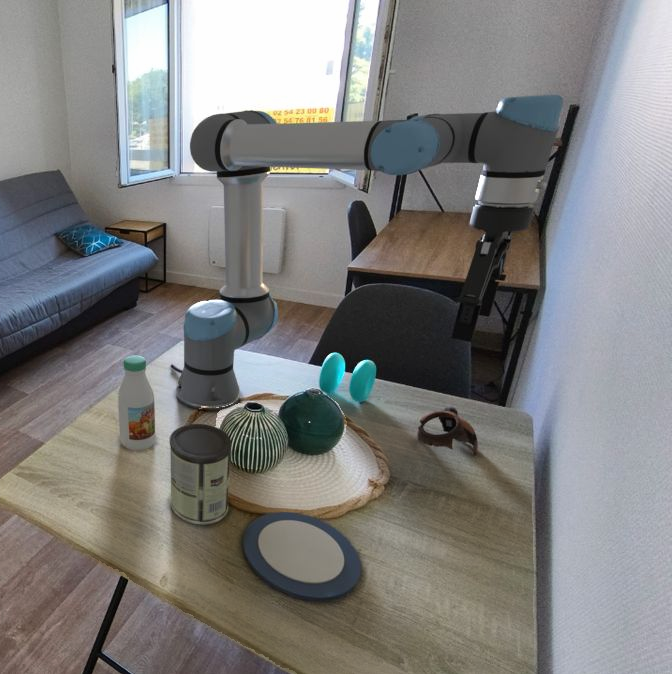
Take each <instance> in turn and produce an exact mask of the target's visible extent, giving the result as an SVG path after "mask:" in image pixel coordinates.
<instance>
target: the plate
mask: <svg viewBox="0 0 672 674" xmlns="http://www.w3.org/2000/svg"><path fill="white" fill-rule="evenodd" d="M242 540H243V541H242V549H243V553H244V557H245V559H246V561H247V563H248V565H249V566H250V568H251V569H252V570H253V571H254V573H255V574H256V575H257V576H258V577H259V578H260V579H261V580H262V581H264V582H265V583H266V584H267V585H269V586H271V587H272V588H273V589H275V590H277V591H279V592H281V593H283V594H285V595H288V596H291V597H294V598H297V599H300V600H305V601H312V602H328V601H329V602H330V601H333V600H337V599H338V600H339V599H340V598H343V597H345V596H346V595H348V594H350V593H351V592H352V591H353V590H354V589H355V588H356V587H357V585H358V583H359V581H360V578H361V573H362V562H361V558H360V556H359V554H358V552H357V550H356V548H355V546H354V545H353V544H352V542H351V541H350V540H349V539H348V538H347V537H346V536H345V535H344V533H342V532H341V531H339V530H338V529H337V528H335V527H334V526H332V525H330V524H329V523H327V522H326V521H324V520H321V519H319V518H316V517H313V516H310V515H307V514H304V513H299V512H294V511H293V512H291V511H278V512H277V511H275V512H270V513H266V514H264V515H261V516H259V517H257V518H256V519H253V521H251V523H249V525H248V526H247V527H246V528H245V531H244V534H243V538H242Z"/></svg>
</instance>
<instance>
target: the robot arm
mask: <svg viewBox="0 0 672 674" xmlns="http://www.w3.org/2000/svg"><path fill="white" fill-rule="evenodd" d="M564 104H565V100H564V98H563V97H562V96H561V95H559V94H535V95H522V96H520V95H519V96H508V97H504V98H502V99H500V101H499V103H498V105H497V107H496V108H495V111H486V112H473V113H472V112H469V113H468V112H467V113H466V112H465V113H429V114H424V115H416V116H413V117H411V118H410V119H389V120H357V121H355V120H353V121H325V122H323V121H322V122H290V123H288V122H287V123H285V122H284V123H277V120H276V119H275V118H274V117H272V116H271V115H270V114H269V113H267V112H265V111H261V110H253V109H251V110H247V109H246V110H242V111H234V112H225V113H216V114H212V115H209V116H207V117H205V118H204V119H202V120H201V121H200V122H198V124H197V125H196V127H195V128H194V129H193V131H192V133H191V136H190V139H189V152H190V156H191V158H192V160H193V162H194V163H195V164H196V165H197V166H198V167H199V168H201V169H202V170H204V171H207V172H213V173H215V172H216V179H217V180H218V181H219V182H220V183H221V184H222V185H223V211H224V212H223V214H224V215H223V216H224V218H223V219H224V257H225V258H224V259H225V260H224V261H225V262H224V263H225V284H224V285H223V286H222V287H221V288H220V289H219V299H210V300H208V301H207V300H203V301H200V302H197V303H195V304H193V305H191V306H190V307H189V308H188V309H187V310H186V311H185V312H186V313H185V314H184V322H183V368H182V369H181V368H179V367H177V366H176V365H174V364H173V363H171V364H170V368H171V369H173V370H174V371H175V372H177V373H180V376H179V378H178V382H177V384H176V392H175V393H176V398H177V399H178V400H179V402H180V403H182V405H185V406H186V407H189V408H190V409H194V410H198V409H199V408H201V406H209V407H213V408H202V409H200V410H199V411H207V412H215V411H216V412H217V411H222V410H227V409H230V408H232V407H234V406H236V405H237V403H238V402H239V400H240V397H241V396H240V394H241V391H240V385H239V383H238V380H237V376H236V373H235V370H234V360H235V351H236V350H238V349H240V348H242V347H243V346H245V345H247V344H248V345H249V343H252V342H253V341H257V340H259V339H262V338H263V337H264V336H266V335H267V334H268V333H270V332H271V331H272V330H273V329H274V327H275V326H276V325H277V322H278V318H279V308H278V304H277V302H276V301H275V300H274V299H273V298H274V297H273V295H271V294H270V288H269V286H267V285H266V284H265V283H264V282H263V279H264V278H263V277H264V276H263V274H264V273H263V268H264V267H263V265H264V263H263V262H264V260H263V259H264V258H263V257H264V256H263V255H264V254H263V253H264V245H263V244H264V181H265V180H266V178H267V177H268V176H269V175H270V174H271V168H288V169H289V168H290V169H292V168H294V169H322V170H347V171H349V170H350V171H373V172H374V171H375V172H381V173H383V174H385V175H388V176H407V175H411V174H415V173H417V172H419V171H422V170H425V169H427V168H431V167H435V166H437V165H442V164H483V166H482V167H483V168H482V171H481V174H480V177H479V181H478V185H477V189H476V193H475V198H474V199H475V200H476V201H477V202H476V203H475V205H473V208H472V211H471V216H470V220H469V226H470V227H471V228H473V229H475V230H479V231H480V230H482V231H483V232H484V234H483V236H480V239H477V241H476V243H475V245H474V246H475V249H474V253H473V257H472V258H471V262H470V264H469V268H468V271H467V274H466V277H465V280H464V283H463V285H462V288H461V292H460V295H459V296H455V298H454V303H459V306H458V309H457V313H456V317H455V321H454V325H453V329H452V334H451V336H450V337H451V339H454V340H458V341H459V340H460V341H463V342H469V343H471V342H472V341H473V339H474V335H475V331H476V327H477V323H478V320H479V316H481V317H487V318H489V317H490V316H491V314H492V313H491V312H492V310H493V306H494V302H495V299H496V295H497V291H498V288H499V285H500V281H501V282H505V281H506V278H507V274H504V273H505V267H506V261H507V256H508V253H509V250H510V247H511V244H512V240H513V239H512V238H511V237H512V233H517V232H518V233H519V232H524V231H526V230H528V229H529V228H530V226H531V222H532V219H533V215H534V211H535V209H536V208H535V207H534V205H533V204H534V203H535V202H536V201H538V197H539V194H540V190H544V189H545V188H547V186H548V184H547V182H545V181H542V180H543V179H544V175H545V174H546V171H547V167H548V163H549V160H550V158H551V154H552V151H553V147H554V144H555V141H556V138H557V136H558V132H559V130H560V121H561V117H562V113H563V108H564ZM237 399H238V400H237ZM236 400H237V401H236ZM235 401H236V402H235ZM233 402H234V403H233ZM231 403H233V404H231ZM229 404H231V405H229ZM226 405H228V406H226ZM222 406H225V407H222ZM214 407H215V408H214ZM216 407H219V408H216Z"/></svg>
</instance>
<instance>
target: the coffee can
mask: <svg viewBox="0 0 672 674" xmlns="http://www.w3.org/2000/svg"><path fill="white" fill-rule="evenodd" d="M232 445H233V444H232V439H231V437H230V436H229V435H228V433H227V432H225V431H224V430H222V429H220V428H218V427H216V426H213V425H210V424H206V423H191V424H186V425H182V426H179V427H177V428H176V429H175V430H174V431H172V432H171V434H170V436H169V448H170V450H169V451H170V507H171V510H172V511H173V512H174V514H175V515H176V516H177V517H179V518H180V519H181V520H183V521H185V522H188V523H189V524H194V525H202V526H206V525H213V524H215V523H217V522H220V521H221V520H222V519H224V518H225V517H226V515H227V513H228V511H229V487H230V470H231V469H230V468H231V467H230V465H231V450H232Z"/></svg>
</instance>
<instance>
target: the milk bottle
mask: <svg viewBox="0 0 672 674" xmlns="http://www.w3.org/2000/svg"><path fill="white" fill-rule="evenodd" d="M123 371H124V376H123V379H122V382H121V384H120V386H119V389H118V393H117V403H118V404H117V406H118V407H117V408H118V429H119V441H120V443H121V445H122V446H123V447H124V448H127V449H129V450H131V451H143V450H147V449H149V448H151V447H152V446H153V445H154V443H155V441H156V411H155V393H154V389H153V387H152V385H151V383H150V381H149V379H148V376H147V374H146V371H147V360H146V358H145V357H144V356H141V355H129V356H127V357H125V358H124V359H123Z"/></svg>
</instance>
